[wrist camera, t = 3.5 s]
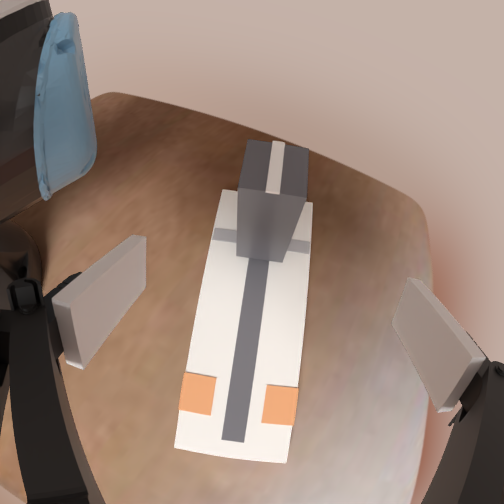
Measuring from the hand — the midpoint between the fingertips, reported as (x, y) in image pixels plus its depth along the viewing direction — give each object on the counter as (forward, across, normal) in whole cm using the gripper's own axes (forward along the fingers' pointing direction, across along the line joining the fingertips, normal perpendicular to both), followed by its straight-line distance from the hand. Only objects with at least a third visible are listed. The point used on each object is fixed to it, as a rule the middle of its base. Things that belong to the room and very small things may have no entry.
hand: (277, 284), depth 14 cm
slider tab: (+13, -1, -2) cm, 13 cm away
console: (+10, -1, -9) cm, 13 cm away
